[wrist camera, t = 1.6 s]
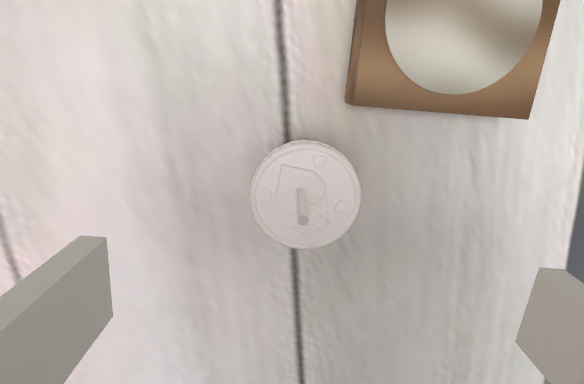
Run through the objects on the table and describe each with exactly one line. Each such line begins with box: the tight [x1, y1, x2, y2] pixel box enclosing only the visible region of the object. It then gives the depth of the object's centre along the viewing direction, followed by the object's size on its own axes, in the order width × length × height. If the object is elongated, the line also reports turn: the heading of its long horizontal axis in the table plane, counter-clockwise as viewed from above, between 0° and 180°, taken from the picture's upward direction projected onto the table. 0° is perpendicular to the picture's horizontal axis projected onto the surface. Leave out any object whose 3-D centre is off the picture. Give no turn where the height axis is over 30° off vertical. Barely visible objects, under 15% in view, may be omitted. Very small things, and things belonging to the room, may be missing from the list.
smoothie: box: [250, 139, 361, 249], centre depth 23 cm, size 6×6×14 cm
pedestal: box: [345, 0, 560, 119], centre depth 25 cm, size 12×12×4 cm
